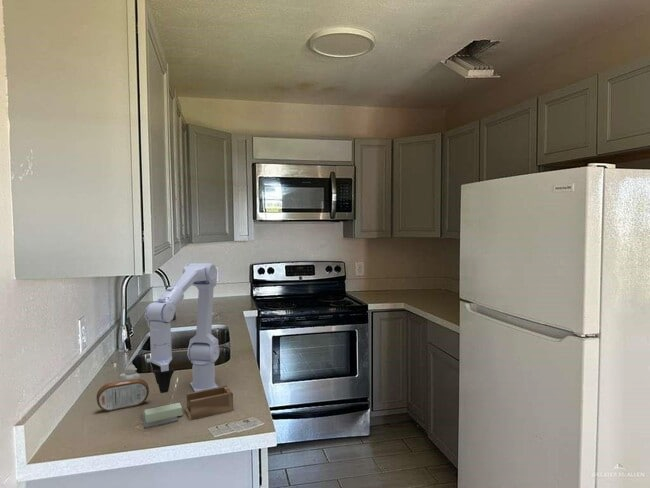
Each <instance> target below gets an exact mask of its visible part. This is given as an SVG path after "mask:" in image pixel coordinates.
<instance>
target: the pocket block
mask: <svg viewBox="0 0 650 488" xmlns="http://www.w3.org/2000/svg"><path fill="white" fill-rule="evenodd" d="M232 411H234V392H232V390H231V389H230V388H229V387H228V385H222V386H218V387H216V388H211V389H206V390H201V391H196V392H195V391H192V392H187V393H186V406H185V407H184V413H185V414H186V416H187V419H188V421H193V420H198V419H200V418H205V417H210V416H214V415H218V414H224V413H228V412H232Z"/></svg>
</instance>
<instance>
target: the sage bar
mask: <svg viewBox="0 0 650 488" xmlns="http://www.w3.org/2000/svg"><path fill="white" fill-rule="evenodd" d="M144 414H145V420H146V423H149V422H154V421H159V420H163V419H168V418H172V417H177V418H178V417H181V416H183V407H182V405H181V403H180V402H175V403H170V404H166V405H160V406H157V407H153V408H152V407H151V408H146V409H144Z"/></svg>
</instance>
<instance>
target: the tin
mask: <svg viewBox="0 0 650 488" xmlns="http://www.w3.org/2000/svg"><path fill="white" fill-rule="evenodd" d="M149 394H150V388H149V384H148V383H147V382H146V381H145V380H144V379H141V378H139V379H131V380H125V381H121V380H119V381H112V382H108V383H105V384H104V385H102V386H101V387H100V388H99V389H98V390H97V393H96V398H95V399H96V404H97V406H98V407H99V408H100V409H101V410H103V411H106V412H107V411H108V412H111V411H112V412H113V411H117V410H124V409H127V408H132V407H133V408H134V407H138V406H141V405H142V404H144V403H145V401H147V399H148V397H149Z"/></svg>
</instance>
